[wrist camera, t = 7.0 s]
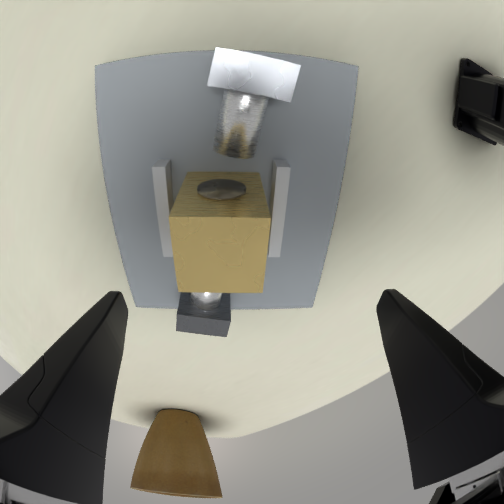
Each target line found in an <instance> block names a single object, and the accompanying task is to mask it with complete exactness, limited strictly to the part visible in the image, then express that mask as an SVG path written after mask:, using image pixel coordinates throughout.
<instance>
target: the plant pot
mask: <svg viewBox="0 0 504 504" xmlns="http://www.w3.org/2000/svg"><path fill="white" fill-rule="evenodd" d="M131 488H132V489H136V490H140V491H145V492H151V493H157V494H164V495H171V496H181V497H193V498H194V497H195V498H222V493H221V488H220V484H219V480H218V475H217V471H216V467H215V463H214V460H213V456H212V453H211V450H210V447H209V444H208V441H207V438H206V435H205V432H204V430H203V427H202V425H201V422H200V420H199V417H198V416H197V415H195V414H194V413H191V412H188V411H184V410H177V409H166V410H161V411H159V412H158V414H157V416H156V418H155V419H154V421H153V423H152V425H151V427H150V429H149V431H148V433H147V435H146V438H145V440H144V442H143V445H142V447H141V450H140V453H139V456H138V459H137V462H136V466H135V469H134V473H133V477H132V482H131Z"/></svg>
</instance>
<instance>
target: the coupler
mask: <svg viewBox="0 0 504 504" xmlns="http://www.w3.org/2000/svg"><path fill="white" fill-rule="evenodd" d="M270 223H271V216H270V212H269V208H268V204H267V200H266V197H265V193H264V189H263V185H262V181H261V177H260V174H259V173H257V172H187V174H186V176H185V179H184V181H183V183H182V186H181V188H180V190H179V193H178V195H177V197H176V200H175V202H174V205H173V207H172V210H171V212H170V215H169V226H170V235H171V243H172V251H173V259H174V266H175V273H176V280H177V287H178V292H198V293H263V286H264V277H265V269H266V260H267V251H268V241H269V232H270Z"/></svg>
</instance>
